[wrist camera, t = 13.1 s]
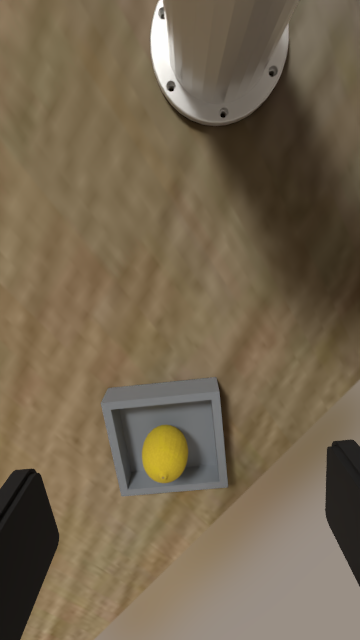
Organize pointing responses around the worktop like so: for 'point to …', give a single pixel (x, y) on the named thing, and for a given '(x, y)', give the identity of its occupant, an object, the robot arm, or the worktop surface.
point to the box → (167, 409)
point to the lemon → (164, 453)
